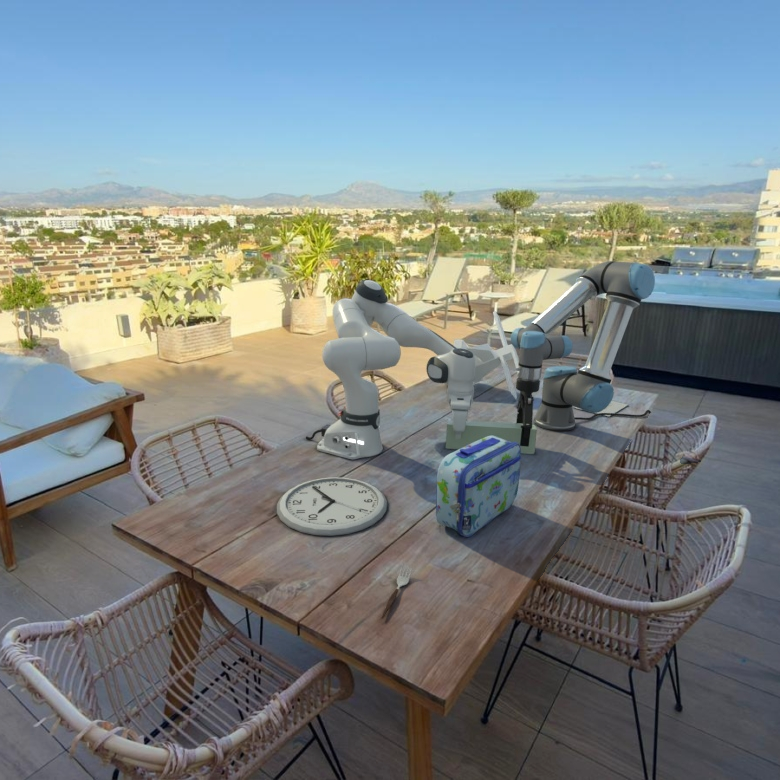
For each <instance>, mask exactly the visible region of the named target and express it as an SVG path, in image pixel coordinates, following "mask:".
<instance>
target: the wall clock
mask: <svg viewBox="0 0 780 780" xmlns="http://www.w3.org/2000/svg"><path fill="white" fill-rule="evenodd" d="M387 509H388V500H387V498H386V496H385V494H384V493H383V492H382V491H381V490H380V489H379V488H377V487H376V486H374V485H372V484H371V483H369V482H365V481H362V480H359V479H355V478H349V477H338V476H337V477H335V476H333V477H332V476H331V477H322V478H317V479H312V480H307V481H305V482H302V483H299V484H297V485H295V486H293V487H292V488H290V489H288V490H287V491H286V492H285V493H284V494H283V495H281V496H280V498H279V499H278V502H277V503H276V515H277V517H278V518H279V520H280V521H281V522H282V523H283V524H285V525H286V526H287V527H288V528H290V529H293V530H295V531H297V532H299V533H303V534H308V535H312V536H327V537H328V536H329V537H331V536H332V537H333V536H342V535H350V534H352V533H356V532H361V531H363V530H366V529H368V528H369V527H372V526H373V525H375V524H376V523H378V522H379V521H380V520H381V519H382V518H383V517H384V516H385V514H386V512H387Z"/></svg>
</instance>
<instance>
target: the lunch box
mask: <svg viewBox="0 0 780 780" xmlns="http://www.w3.org/2000/svg"><path fill="white" fill-rule="evenodd" d="M521 455H522V453H521V449H520V445H519V444H518V443H517V442H509V441H506V440H504V439H501V438H498V437H496V436H487V437H485V438H482V439H480V440H478V441H476V442H474V443H471V444H469V445H467V446H465V447H463V448H461V449H456V450H454V451H453V452H451V453H448V454H446V455H445V456H444V457H443V458H442V459H441V460H440V463H439V465H438V467H437V474H436V485H435V486H436V494H435V495H436V497H435V498H436V499H435V516H436V522H437V523H438V524H440V525H442V526H445V527H448V528H450V529H453V530H454V531H456V532H458V534H459V535H461V537H465V538H470V537H471V536H473V535H475V534H476V533H477V532H478V531H479V530H480V529H482V528H483V527H485V526H486V525H488V524H489V523H490V522H491V521H493V520H494V519H495V518H496V517H497V516H499V515H501V514H502V513H504V512H505V511H507V510H508V509H510V508H511V507H512V506H513V504H514V502H515V500H516V498H517V495H518V494H517V493H518V491H519V483H520V474H521V458H522V457H521Z"/></svg>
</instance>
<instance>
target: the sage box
mask: <svg viewBox="0 0 780 780" xmlns="http://www.w3.org/2000/svg"><path fill="white" fill-rule="evenodd" d="M521 425H522V426H523V424H521V423H516V422H503V421H501V422H500V421H484V420H467V421H466V427H465V431H464V432H461V438H460V439H456V438H455V434H456V433H455V432H454V431H453V420H452V419H449V418H447V419H446V432H445V433H446V434H445V435H446V437H445V449H449V450H459V449H461V448H463V447H465V446H467V445H469V444H471V443H474V442H476V441H478V440H480V439H482V438H485V437H487V436H496V437H498V438H501V439H504V440H506V441H509V442H517V443H518V444H519V445H520V440H521V432H522V428H521ZM526 425H529V424H526ZM537 432H538V429H537V425H536V424H535V423H532V429H531V431H530V439H529V447H527V446H520V449H521V454H524V455H525V454H526V455H527V454H528V455H535V452H536V451H535V450H536V440H537V434H538V433H537Z"/></svg>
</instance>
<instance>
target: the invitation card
mask: <svg viewBox="0 0 780 780" xmlns="http://www.w3.org/2000/svg"><path fill="white" fill-rule="evenodd" d="M628 406H629V404H627V403H623V402H618V401H614V400H612V401H611V402H610V404H609V405H608V406H607V407H606V408H605V409H603V410H602V411H601V412H598V413H615V414H617V413H618V412H619V411H621V410H623V409H624V408H626V407H628ZM573 409H575V410H581V411H583V410H582V409H580V408H577V407H575V406H573ZM587 413H590V412H589V411H587ZM598 413H595V414H598ZM603 416H604V417H608V418H609V417H611V416H612V415H603Z"/></svg>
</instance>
